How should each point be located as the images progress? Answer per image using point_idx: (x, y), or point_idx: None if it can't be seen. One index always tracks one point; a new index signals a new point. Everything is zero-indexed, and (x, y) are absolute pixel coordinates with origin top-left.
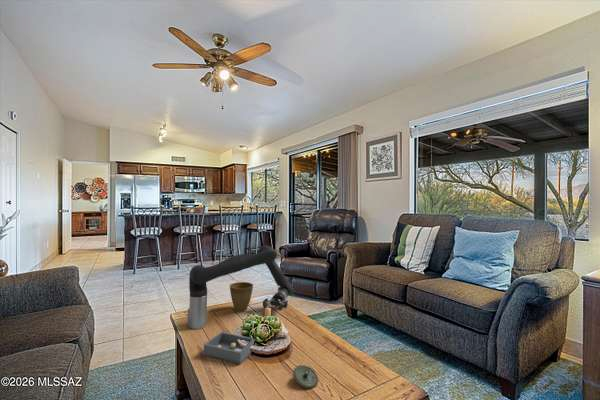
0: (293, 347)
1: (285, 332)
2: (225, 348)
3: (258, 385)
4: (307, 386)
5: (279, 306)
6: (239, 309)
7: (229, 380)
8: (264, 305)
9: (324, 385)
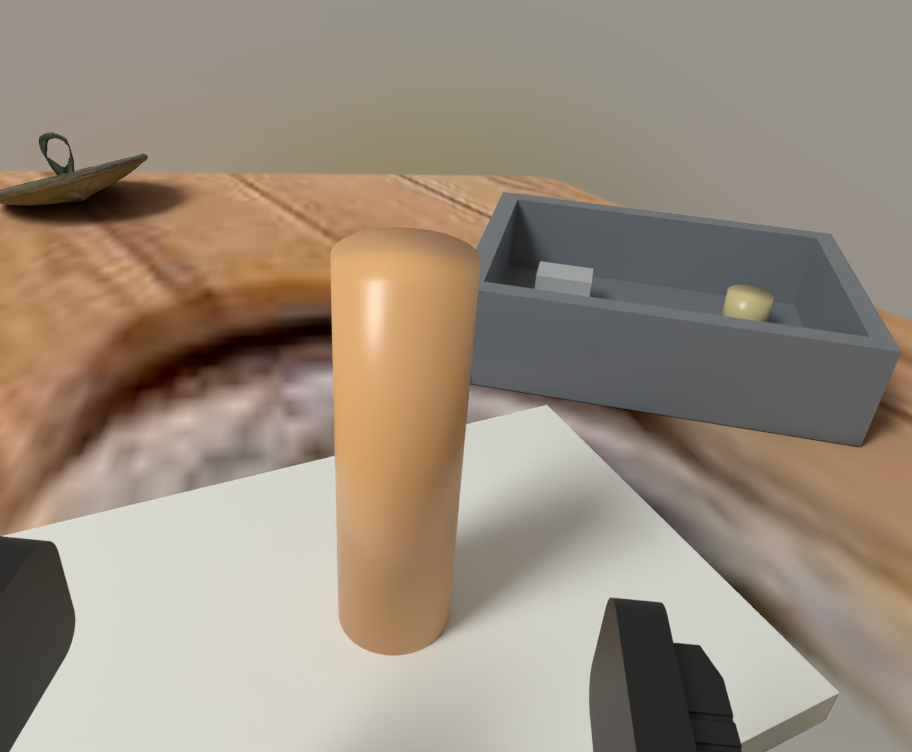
0: (30, 423)
1: (59, 546)
2: (640, 214)
3: (339, 195)
4: (80, 170)
5: (15, 543)
6: None
7: None
8: (650, 603)
9: None
